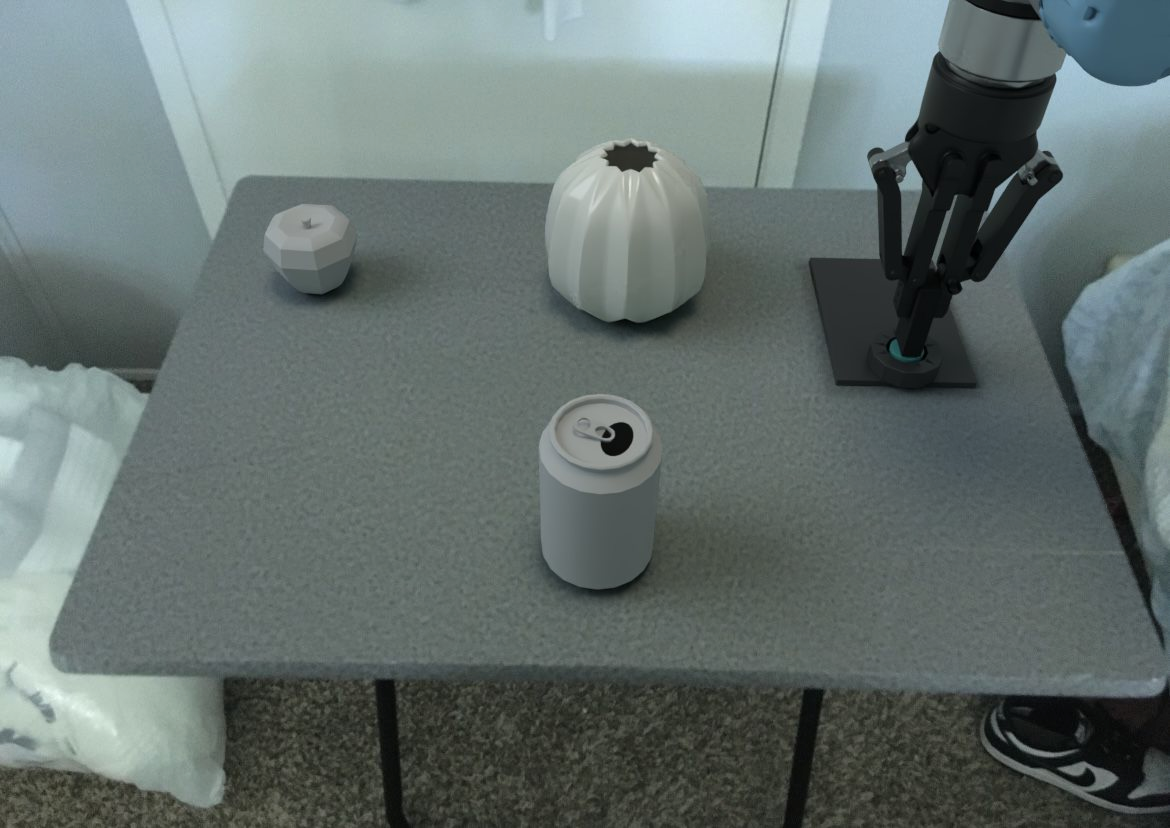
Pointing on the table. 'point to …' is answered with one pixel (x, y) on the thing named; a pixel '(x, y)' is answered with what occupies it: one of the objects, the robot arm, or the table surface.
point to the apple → (311, 246)
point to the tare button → (896, 354)
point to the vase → (627, 231)
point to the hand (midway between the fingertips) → (907, 344)
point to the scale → (880, 330)
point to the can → (599, 490)
